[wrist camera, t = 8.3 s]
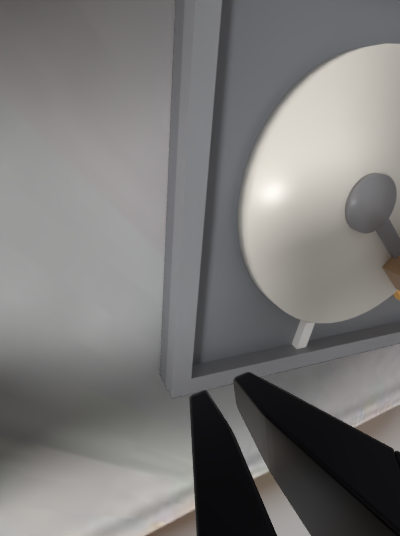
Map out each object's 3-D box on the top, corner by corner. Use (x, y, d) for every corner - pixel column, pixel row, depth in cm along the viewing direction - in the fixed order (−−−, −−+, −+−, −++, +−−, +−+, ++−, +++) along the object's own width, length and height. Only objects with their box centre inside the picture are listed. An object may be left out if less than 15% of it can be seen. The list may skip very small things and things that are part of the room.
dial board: (159, 374, 20) (171, 398, 19) (179, -89, 13) (202, -118, 11) (407, 322, 28) (431, 335, 27) (508, 16, 21) (550, 9, 19)
